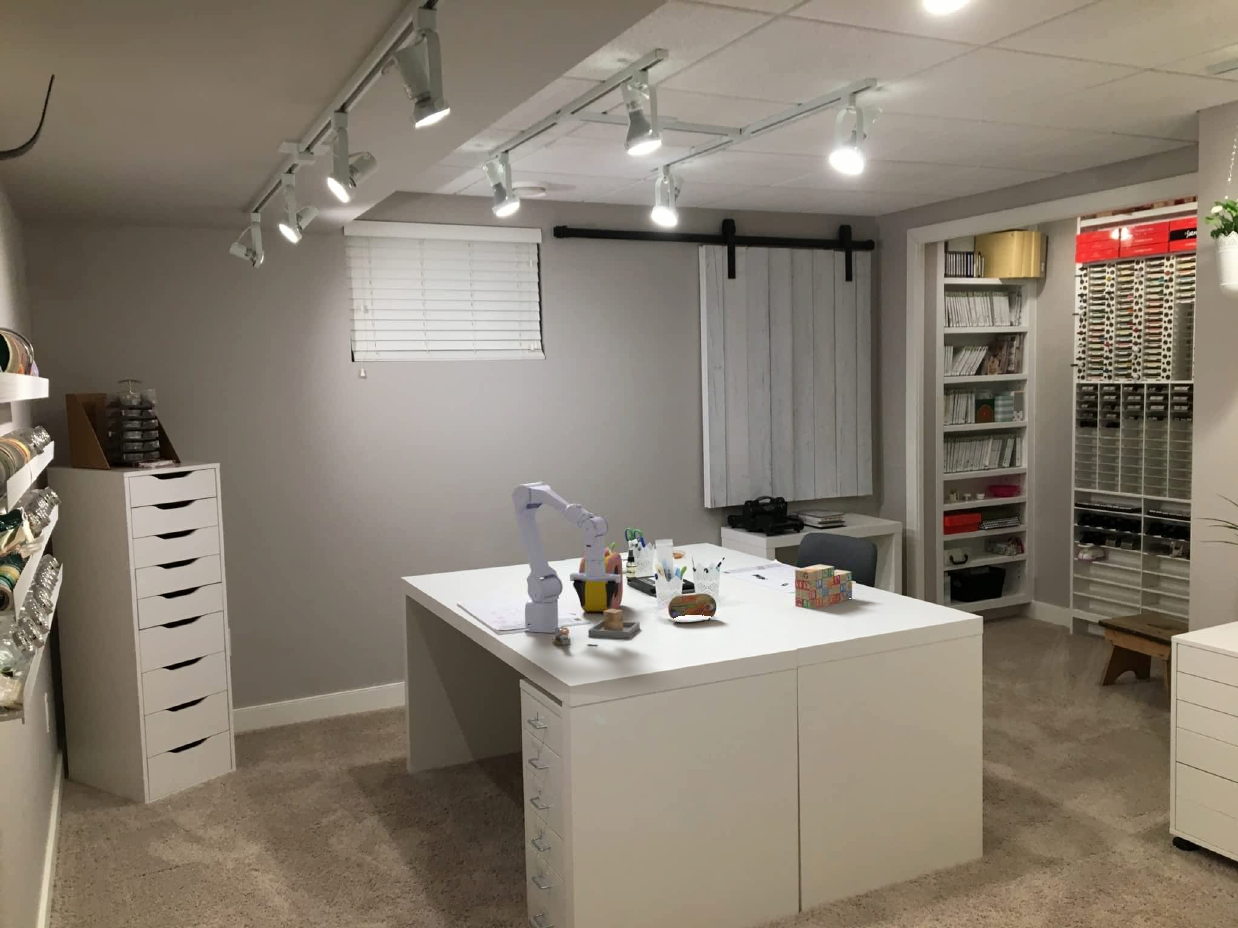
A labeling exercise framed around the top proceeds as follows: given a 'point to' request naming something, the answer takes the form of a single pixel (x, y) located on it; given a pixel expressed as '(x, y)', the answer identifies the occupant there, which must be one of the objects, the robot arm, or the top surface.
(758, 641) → the top surface
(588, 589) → the alarm clock
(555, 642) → the crank base
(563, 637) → the crank
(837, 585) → the stack of blocks
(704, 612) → the tin
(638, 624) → the tray
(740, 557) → the top surface
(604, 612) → the stop block
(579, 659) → the top surface
